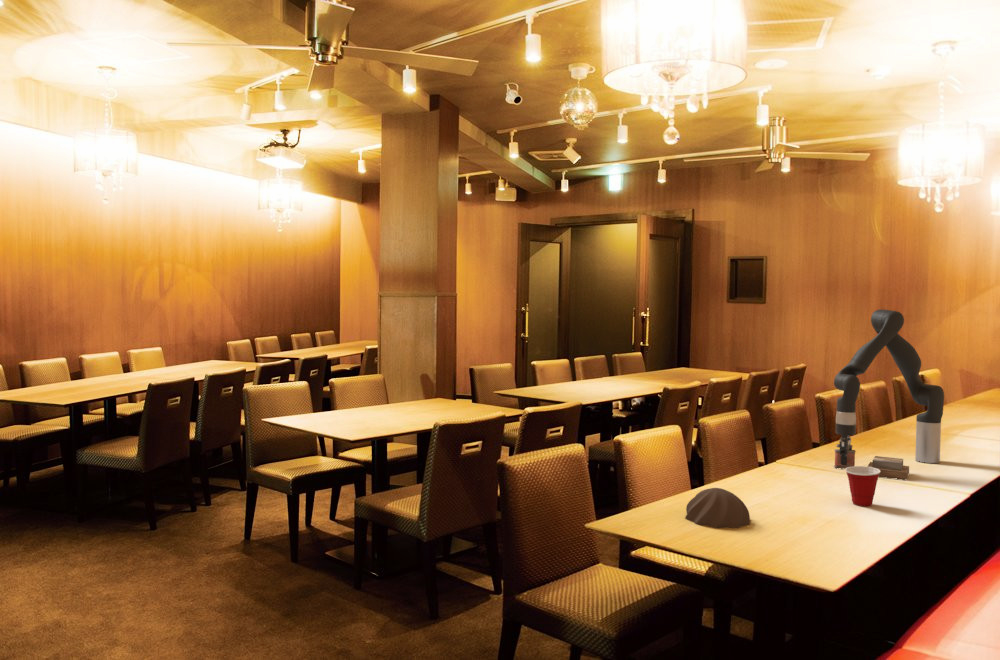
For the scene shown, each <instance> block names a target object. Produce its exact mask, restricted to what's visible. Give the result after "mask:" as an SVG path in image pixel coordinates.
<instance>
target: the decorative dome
mask: <svg viewBox="0 0 1000 660" xmlns="http://www.w3.org/2000/svg"><path fill="white" fill-rule="evenodd" d="M685 510H686V515H685V517H684V520H688V521H690V522H693V523H694V524H695V525H696V526H697V525H698V526H706V527H710V528H714V529H723V528H724V529H739V528H741V527H745V526H750V524H751V515H750V512H749V509H748V507H747V506H746V504H745V503H744V502H743V501H742V500H741V498H739V497H738V496H737V495H736V494H735V493H733V492H731V491H729V490H727V489H724V488H720V487H710V488H706V489H703V490H700V491H699V492H698V493H697V494H696V495H695V496H694V497H693V498H691V499H690V500H689V501H688V503H687V504H686V509H685Z"/></svg>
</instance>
